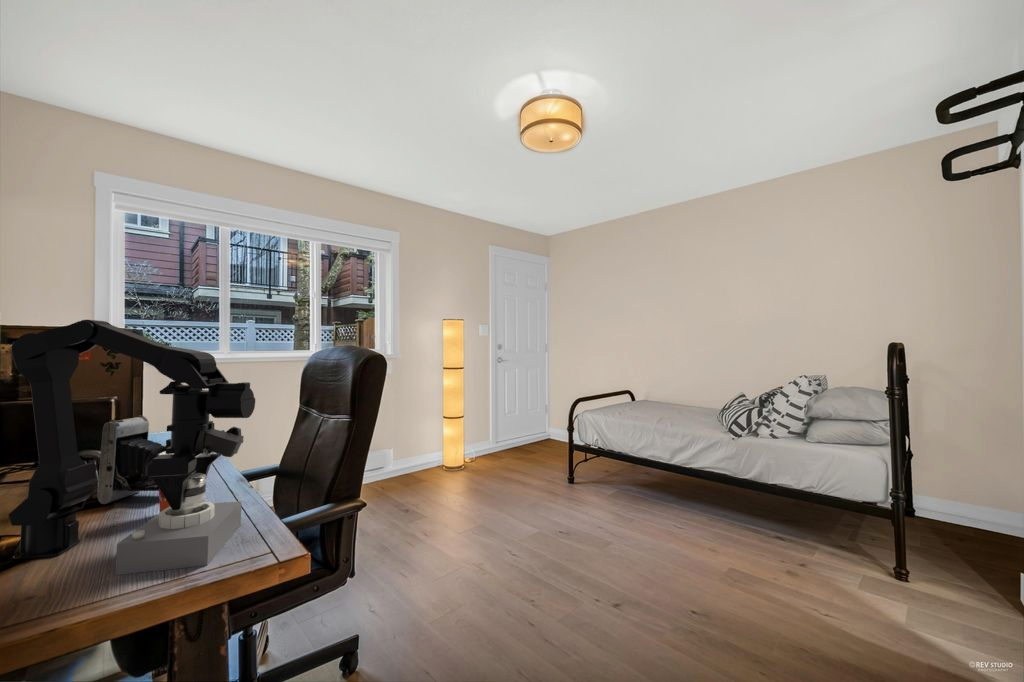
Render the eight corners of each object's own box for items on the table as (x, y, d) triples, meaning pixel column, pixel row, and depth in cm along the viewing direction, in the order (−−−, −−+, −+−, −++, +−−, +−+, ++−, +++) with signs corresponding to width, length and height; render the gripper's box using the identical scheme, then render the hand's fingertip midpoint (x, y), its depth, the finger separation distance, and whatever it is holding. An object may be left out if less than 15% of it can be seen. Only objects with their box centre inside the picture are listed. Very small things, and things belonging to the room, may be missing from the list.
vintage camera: (158, 508, 102) (165, 423, 103) (93, 504, 102) (102, 419, 103) (189, 495, 112) (196, 417, 113) (130, 492, 112) (137, 414, 113)
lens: (163, 526, 78) (165, 482, 79) (176, 515, 84) (178, 473, 84) (197, 524, 80) (199, 480, 80) (209, 513, 85) (210, 472, 85)
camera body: (115, 574, 71) (117, 531, 71) (168, 531, 88) (169, 496, 89) (207, 565, 75) (208, 524, 75) (240, 525, 92) (241, 491, 92)
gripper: (222, 424, 76) (218, 515, 75) (253, 410, 94) (250, 483, 93) (145, 426, 72) (141, 521, 72) (192, 411, 90) (189, 487, 90)
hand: (187, 501), depth 82 cm, fingers open, 9 cm apart
